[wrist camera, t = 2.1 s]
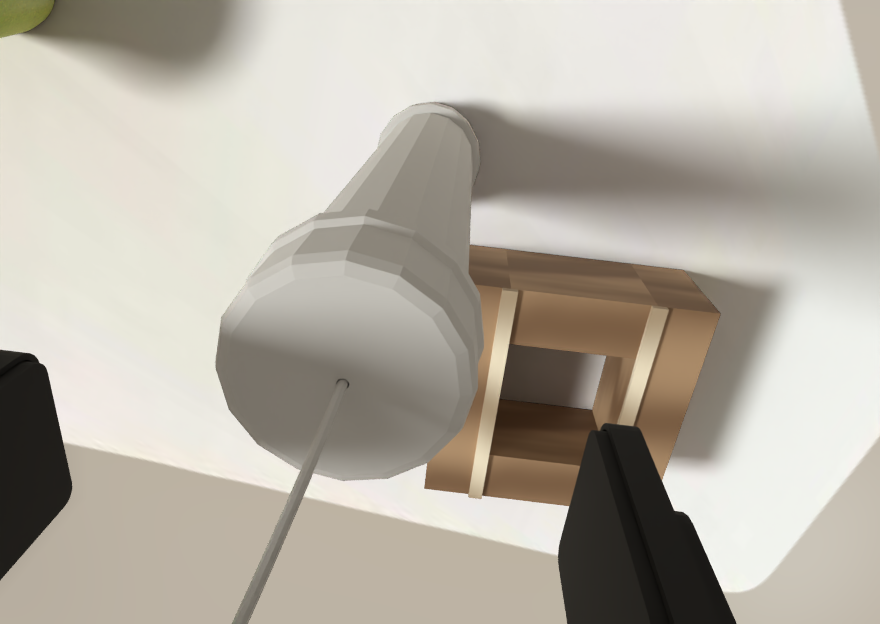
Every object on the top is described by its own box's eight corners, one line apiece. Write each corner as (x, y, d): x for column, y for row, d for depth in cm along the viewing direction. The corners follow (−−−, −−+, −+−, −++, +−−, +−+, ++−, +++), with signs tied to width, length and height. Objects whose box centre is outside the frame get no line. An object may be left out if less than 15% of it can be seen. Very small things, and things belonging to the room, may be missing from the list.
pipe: (498, 129, 32) (602, 625, 5) (446, 224, 35) (340, 884, 8) (409, 79, 32) (6, 376, 5) (362, 181, 34) (-72, 756, 7)
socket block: (453, 243, 35) (449, 283, 30) (683, 270, 35) (722, 316, 30) (431, 428, 42) (423, 492, 36) (627, 452, 41) (650, 519, 36)
